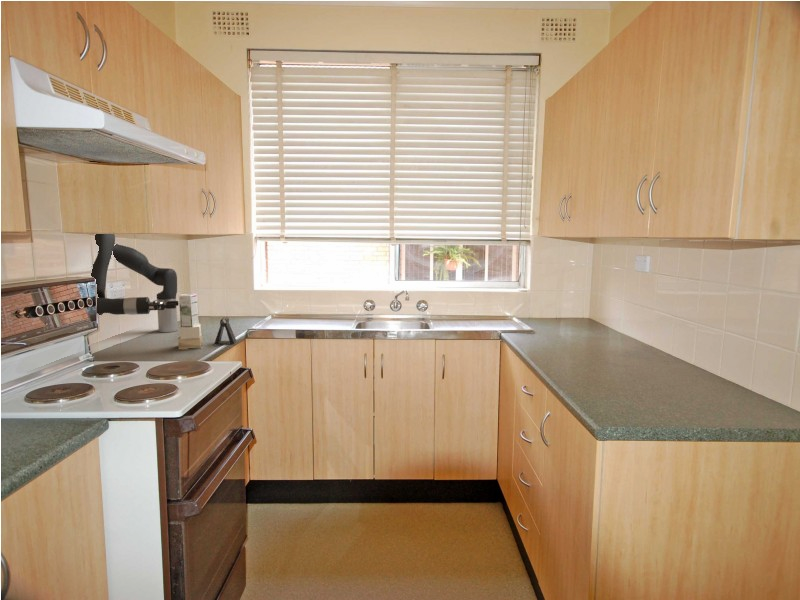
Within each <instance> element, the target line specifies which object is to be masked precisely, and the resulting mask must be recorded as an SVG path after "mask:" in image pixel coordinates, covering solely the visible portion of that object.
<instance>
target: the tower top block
mask: <svg viewBox="0 0 800 600" xmlns="http://www.w3.org/2000/svg"><path fill="white" fill-rule="evenodd" d="M201 327H202V325H201V323H199V325H197V326H194V327H181V326H180V327H179V337H180V339H188V338H200V336H201V334H202V330H201V329H202V328H201Z"/></svg>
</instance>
